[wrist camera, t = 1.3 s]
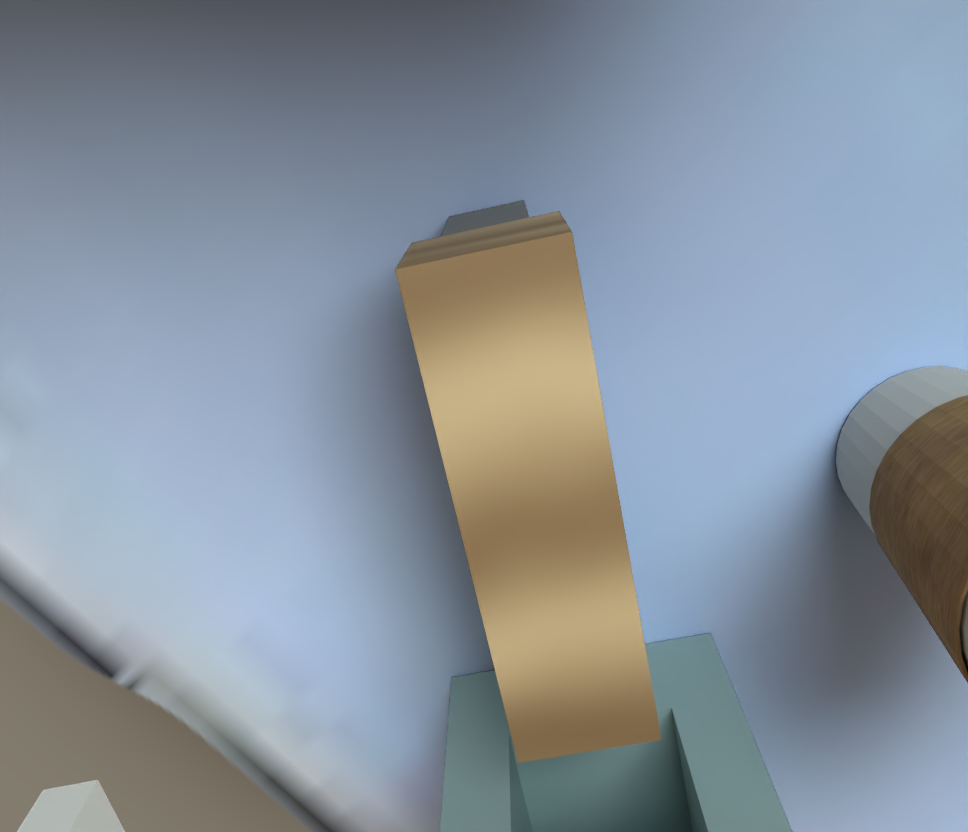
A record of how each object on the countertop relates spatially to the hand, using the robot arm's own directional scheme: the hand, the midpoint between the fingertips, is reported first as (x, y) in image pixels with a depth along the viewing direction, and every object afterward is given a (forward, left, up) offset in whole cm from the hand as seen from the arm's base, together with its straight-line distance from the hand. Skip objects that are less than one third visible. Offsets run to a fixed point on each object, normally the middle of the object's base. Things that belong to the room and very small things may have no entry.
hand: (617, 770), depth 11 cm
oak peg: (+2, -1, -14) cm, 15 cm away
